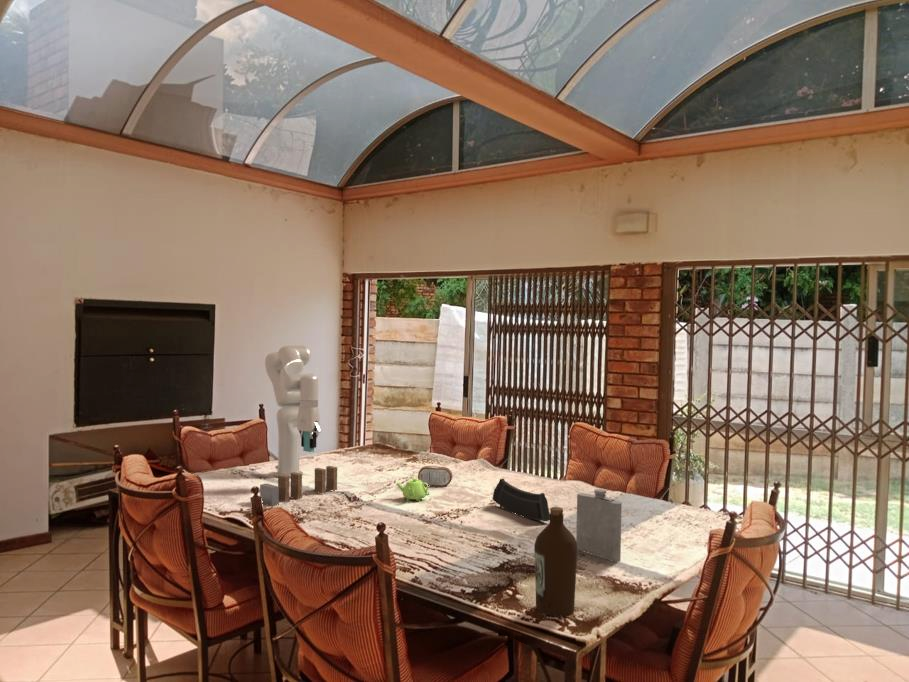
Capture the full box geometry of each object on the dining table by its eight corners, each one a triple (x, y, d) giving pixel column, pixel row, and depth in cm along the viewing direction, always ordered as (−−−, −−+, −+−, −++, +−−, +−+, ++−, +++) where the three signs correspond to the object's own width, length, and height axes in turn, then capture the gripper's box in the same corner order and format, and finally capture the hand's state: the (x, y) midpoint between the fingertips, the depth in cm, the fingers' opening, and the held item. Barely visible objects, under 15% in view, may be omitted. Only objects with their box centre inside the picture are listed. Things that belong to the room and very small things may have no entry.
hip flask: (574, 549, 220) (575, 486, 219) (582, 546, 223) (583, 484, 222) (616, 562, 208) (617, 495, 208) (624, 559, 211) (625, 493, 210)
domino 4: (322, 494, 287) (322, 470, 286) (314, 492, 290) (314, 468, 290) (325, 493, 288) (325, 469, 288) (318, 491, 291) (318, 467, 291)
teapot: (433, 500, 279) (434, 479, 278) (408, 504, 272) (409, 482, 272) (419, 495, 288) (420, 474, 288) (395, 498, 282) (395, 477, 282)
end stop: (259, 502, 272) (260, 484, 272) (266, 501, 274) (266, 483, 274) (271, 506, 267) (272, 487, 267) (278, 504, 269) (278, 486, 269)
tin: (452, 485, 306) (452, 466, 306) (451, 487, 303) (451, 468, 303) (418, 484, 307) (418, 465, 307) (417, 486, 304) (417, 466, 304)
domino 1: (285, 502, 273) (285, 476, 273) (277, 500, 276) (278, 474, 276) (289, 501, 274) (289, 476, 274) (281, 499, 278) (281, 474, 278)
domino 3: (310, 452, 295) (310, 428, 295) (303, 450, 298) (303, 427, 298) (314, 451, 296) (314, 428, 296) (306, 450, 299) (306, 427, 299)
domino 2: (298, 499, 278) (298, 474, 277) (290, 497, 281) (290, 472, 281) (301, 498, 279) (301, 473, 279) (294, 496, 282) (294, 471, 282)
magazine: (555, 500, 246) (506, 461, 270) (548, 501, 245) (499, 462, 268) (545, 542, 251) (497, 501, 275) (538, 543, 249) (490, 502, 273)
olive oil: (569, 599, 179) (571, 502, 178) (582, 617, 168) (584, 513, 168) (529, 601, 177) (530, 503, 177) (539, 618, 167) (540, 514, 166)
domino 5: (333, 491, 291) (333, 467, 291) (326, 489, 294) (326, 466, 294) (337, 491, 293) (337, 467, 292) (329, 489, 296) (329, 465, 296)
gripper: (289, 403, 300) (289, 445, 300) (314, 406, 289) (314, 450, 289) (303, 402, 305) (303, 444, 305) (328, 405, 294) (328, 448, 294)
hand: (308, 446), depth 297 cm, fingers closed on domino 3, 4 cm apart
